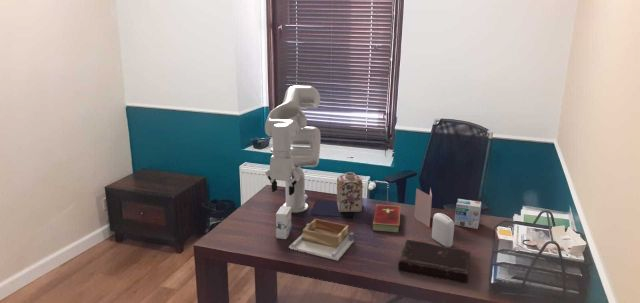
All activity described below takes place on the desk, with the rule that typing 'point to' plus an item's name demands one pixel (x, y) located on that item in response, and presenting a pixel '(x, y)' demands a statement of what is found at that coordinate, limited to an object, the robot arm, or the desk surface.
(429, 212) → the greeting card
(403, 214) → the desk surface
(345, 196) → the decorative jar
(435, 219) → the photo printer
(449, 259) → the diary
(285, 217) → the ink box
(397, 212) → the hardcover book
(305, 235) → the crate
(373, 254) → the desk surface
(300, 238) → the grey flat slab
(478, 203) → the light bulb box
